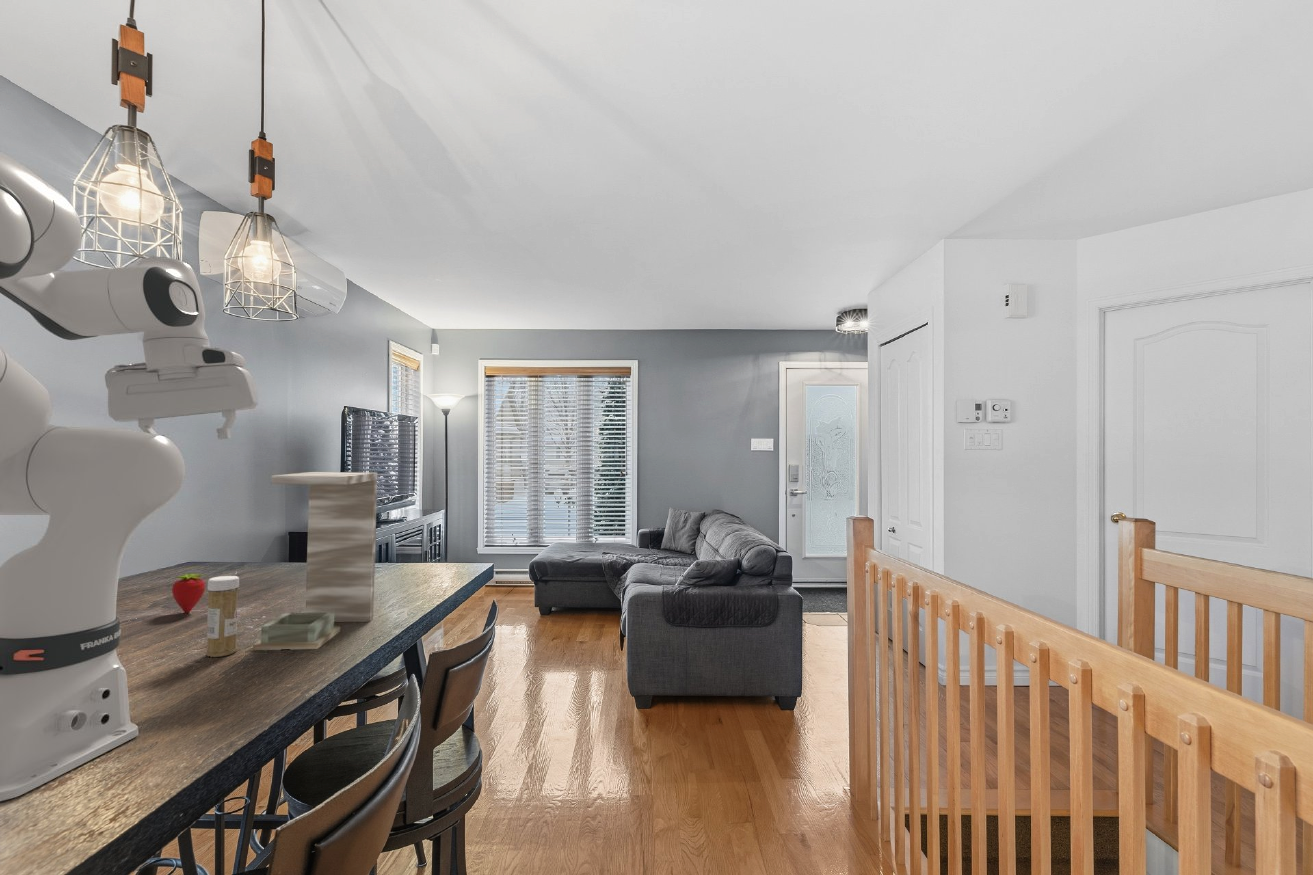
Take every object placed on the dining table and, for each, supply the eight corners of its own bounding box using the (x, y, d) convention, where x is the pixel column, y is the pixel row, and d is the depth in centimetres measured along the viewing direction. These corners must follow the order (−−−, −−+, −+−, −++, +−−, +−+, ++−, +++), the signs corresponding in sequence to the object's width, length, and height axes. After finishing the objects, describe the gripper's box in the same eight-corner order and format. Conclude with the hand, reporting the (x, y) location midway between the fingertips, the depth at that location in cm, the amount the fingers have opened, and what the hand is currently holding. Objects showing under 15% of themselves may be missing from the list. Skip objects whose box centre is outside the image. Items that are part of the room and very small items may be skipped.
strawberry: (202, 606, 141) (204, 562, 141) (206, 613, 135) (208, 567, 135) (169, 611, 137) (171, 565, 137) (172, 618, 131) (174, 570, 131)
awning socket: (337, 648, 114) (342, 476, 114) (252, 650, 112) (258, 475, 113) (373, 618, 134) (377, 472, 134) (301, 619, 132) (306, 471, 132)
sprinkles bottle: (239, 654, 110) (241, 577, 110) (207, 659, 107) (210, 581, 107) (233, 647, 113) (236, 573, 113) (203, 653, 110) (205, 577, 110)
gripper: (92, 363, 96) (105, 451, 97) (242, 351, 103) (255, 434, 103) (113, 368, 102) (126, 451, 103) (254, 356, 109) (266, 435, 109)
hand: (192, 442), depth 103 cm, fingers open, 8 cm apart
